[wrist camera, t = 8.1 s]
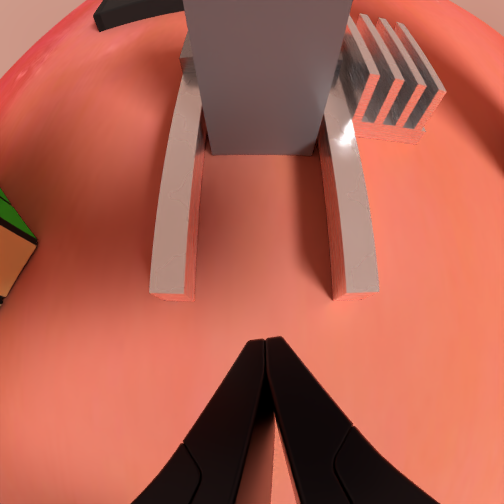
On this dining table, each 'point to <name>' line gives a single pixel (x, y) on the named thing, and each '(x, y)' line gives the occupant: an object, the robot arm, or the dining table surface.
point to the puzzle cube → (12, 245)
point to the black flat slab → (132, 11)
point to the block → (265, 70)
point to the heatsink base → (330, 151)
